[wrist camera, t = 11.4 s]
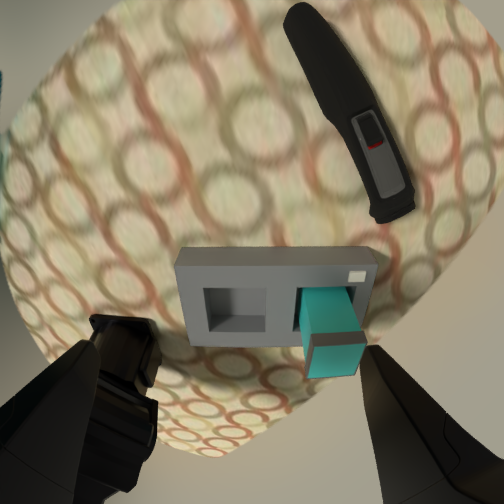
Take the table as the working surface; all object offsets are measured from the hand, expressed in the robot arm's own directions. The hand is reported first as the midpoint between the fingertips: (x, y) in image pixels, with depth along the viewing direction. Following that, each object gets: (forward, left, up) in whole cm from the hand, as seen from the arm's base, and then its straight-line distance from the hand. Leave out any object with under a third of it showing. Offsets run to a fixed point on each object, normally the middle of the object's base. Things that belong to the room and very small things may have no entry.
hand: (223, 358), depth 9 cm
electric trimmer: (+7, +6, -14) cm, 16 cm away
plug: (+6, -7, -12) cm, 16 cm away
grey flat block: (+3, -7, -13) cm, 15 cm away
